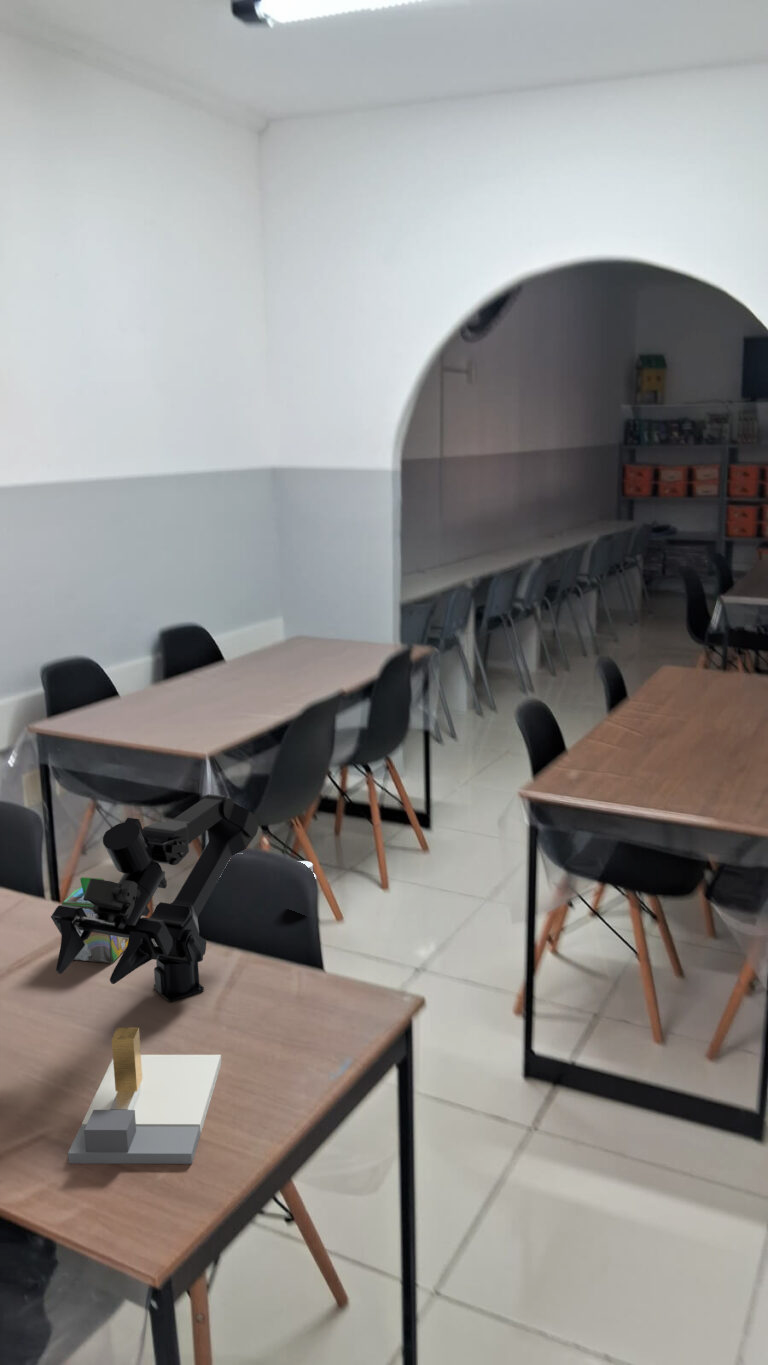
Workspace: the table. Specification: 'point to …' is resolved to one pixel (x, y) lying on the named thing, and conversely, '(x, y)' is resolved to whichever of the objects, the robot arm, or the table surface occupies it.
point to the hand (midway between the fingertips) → (84, 977)
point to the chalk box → (97, 943)
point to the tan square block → (126, 1067)
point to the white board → (150, 1114)
